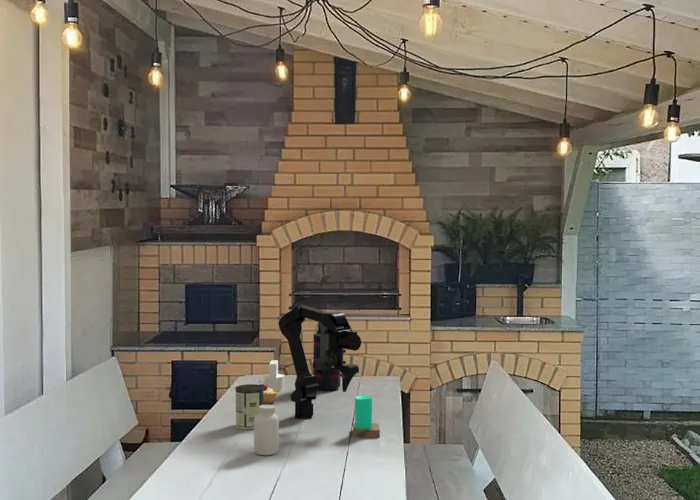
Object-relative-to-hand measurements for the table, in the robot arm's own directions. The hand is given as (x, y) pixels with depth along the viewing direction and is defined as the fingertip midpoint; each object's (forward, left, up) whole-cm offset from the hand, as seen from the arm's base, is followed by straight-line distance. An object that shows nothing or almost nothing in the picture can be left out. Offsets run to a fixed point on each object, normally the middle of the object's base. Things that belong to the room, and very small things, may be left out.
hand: (335, 389), depth 291 cm
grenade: (-4, +59, -13) cm, 61 cm away
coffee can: (-31, -1, -13) cm, 34 cm away
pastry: (-30, +34, -13) cm, 47 cm away
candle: (+10, -11, -11) cm, 19 cm away
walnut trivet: (+11, -11, -13) cm, 20 cm away
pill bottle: (-22, -33, -13) cm, 42 cm away
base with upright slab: (-27, +58, -13) cm, 65 cm away
